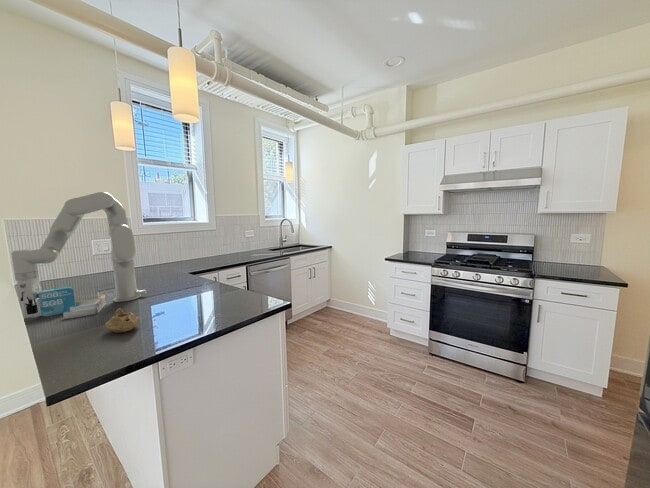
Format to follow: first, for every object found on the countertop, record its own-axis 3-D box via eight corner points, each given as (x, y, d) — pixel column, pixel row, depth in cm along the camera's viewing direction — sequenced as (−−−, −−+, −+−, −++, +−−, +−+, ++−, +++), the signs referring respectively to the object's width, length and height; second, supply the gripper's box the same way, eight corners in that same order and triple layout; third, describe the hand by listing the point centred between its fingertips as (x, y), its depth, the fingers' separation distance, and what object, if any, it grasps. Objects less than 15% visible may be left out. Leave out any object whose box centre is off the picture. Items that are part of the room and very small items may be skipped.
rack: (105, 303, 145) (104, 294, 145) (97, 313, 129) (96, 303, 129) (76, 307, 140) (75, 297, 139) (64, 319, 123) (62, 307, 123)
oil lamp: (119, 339, 100) (116, 319, 99) (99, 332, 107) (97, 313, 106) (149, 328, 110) (147, 309, 109) (130, 322, 117) (128, 304, 116)
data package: (41, 317, 127) (38, 292, 125) (41, 315, 130) (37, 291, 128) (76, 310, 136) (72, 287, 134) (74, 308, 139) (71, 285, 137)
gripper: (30, 277, 121) (36, 316, 123) (44, 272, 134) (49, 307, 136) (6, 279, 118) (13, 320, 120) (23, 274, 131) (29, 310, 133)
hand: (32, 313), depth 128 cm, fingers closed
